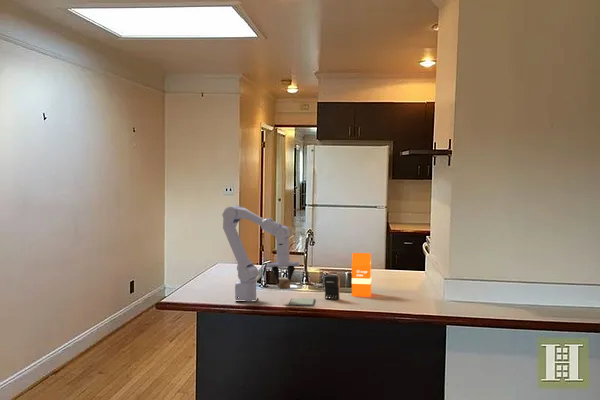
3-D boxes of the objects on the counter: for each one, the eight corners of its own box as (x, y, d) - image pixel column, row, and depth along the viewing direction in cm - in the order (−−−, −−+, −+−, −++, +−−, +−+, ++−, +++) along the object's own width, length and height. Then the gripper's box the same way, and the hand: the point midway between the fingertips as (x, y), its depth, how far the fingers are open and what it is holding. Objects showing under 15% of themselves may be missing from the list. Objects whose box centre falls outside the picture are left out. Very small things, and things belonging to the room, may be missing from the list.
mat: (288, 305, 229) (288, 304, 229) (291, 299, 240) (291, 298, 240) (313, 306, 228) (313, 304, 228) (315, 300, 239) (315, 298, 239)
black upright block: (322, 299, 240) (322, 275, 239) (326, 298, 243) (326, 273, 243) (337, 301, 237) (336, 276, 236) (340, 299, 240) (340, 274, 240)
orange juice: (370, 296, 245) (370, 254, 244) (351, 296, 247) (351, 254, 246) (371, 293, 253) (371, 252, 252) (353, 292, 254) (353, 251, 253)
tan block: (280, 289, 229) (280, 281, 229) (276, 285, 237) (276, 277, 237) (290, 288, 230) (290, 280, 230) (286, 284, 238) (286, 277, 238)
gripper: (268, 255, 228) (268, 285, 228) (300, 253, 231) (301, 284, 232) (265, 252, 235) (266, 282, 235) (297, 251, 238) (297, 280, 238)
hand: (283, 283), depth 234 cm, fingers closed on tan block, 4 cm apart
